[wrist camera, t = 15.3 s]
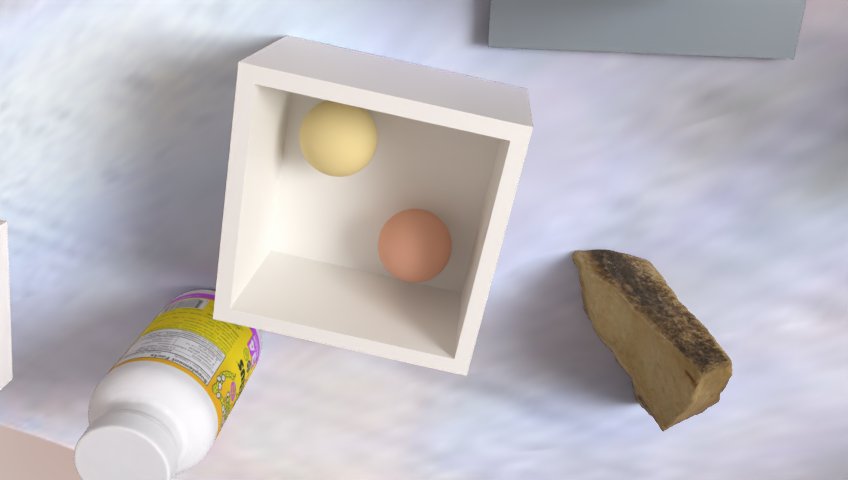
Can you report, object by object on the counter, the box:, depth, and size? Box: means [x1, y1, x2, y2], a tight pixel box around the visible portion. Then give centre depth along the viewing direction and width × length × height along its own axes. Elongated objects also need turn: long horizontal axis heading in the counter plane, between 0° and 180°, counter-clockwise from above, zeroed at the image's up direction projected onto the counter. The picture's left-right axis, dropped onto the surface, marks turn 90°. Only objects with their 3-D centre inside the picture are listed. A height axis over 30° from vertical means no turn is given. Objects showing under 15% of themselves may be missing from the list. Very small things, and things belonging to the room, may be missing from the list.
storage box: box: [213, 36, 533, 376], centre depth 39 cm, size 13×13×8 cm
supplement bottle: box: [74, 290, 262, 480], centre depth 42 cm, size 7×7×13 cm
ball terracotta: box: [378, 209, 452, 283], centre depth 41 cm, size 4×4×4 cm
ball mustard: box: [299, 100, 378, 177], centre depth 39 cm, size 4×4×4 cm
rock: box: [572, 250, 732, 431], centre depth 42 cm, size 11×9×10 cm
